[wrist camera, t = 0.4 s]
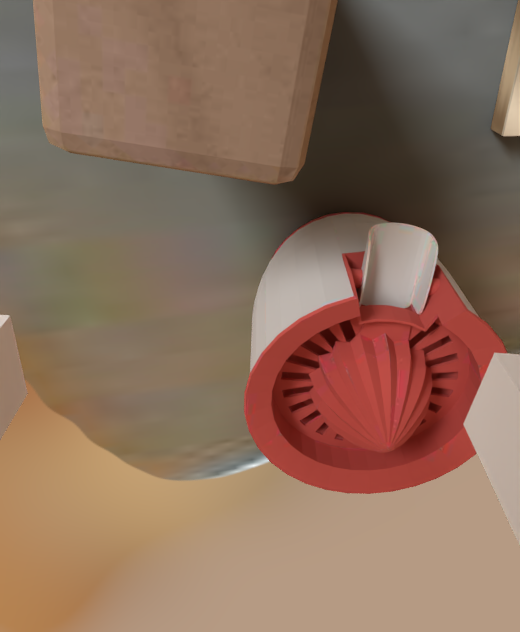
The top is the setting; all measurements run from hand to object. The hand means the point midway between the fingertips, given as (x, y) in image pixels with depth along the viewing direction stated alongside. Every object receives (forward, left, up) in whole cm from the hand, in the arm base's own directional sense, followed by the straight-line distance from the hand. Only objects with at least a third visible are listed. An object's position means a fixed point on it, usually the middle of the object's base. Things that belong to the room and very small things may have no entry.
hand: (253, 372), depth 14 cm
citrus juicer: (+11, +7, -28) cm, 31 cm away
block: (-8, -2, -28) cm, 29 cm away
